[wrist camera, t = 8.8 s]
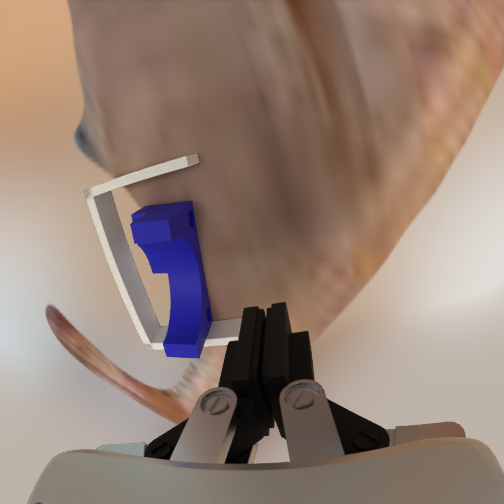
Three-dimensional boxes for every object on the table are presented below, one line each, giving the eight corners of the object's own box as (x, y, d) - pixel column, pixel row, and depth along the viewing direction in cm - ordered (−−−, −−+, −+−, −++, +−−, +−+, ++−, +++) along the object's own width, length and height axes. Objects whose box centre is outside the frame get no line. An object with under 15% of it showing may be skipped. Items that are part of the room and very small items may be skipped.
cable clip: (146, 205, 26) (113, 225, 20) (192, 200, 25) (168, 219, 20) (171, 318, 30) (151, 355, 25) (213, 319, 30) (199, 358, 24)
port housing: (101, 183, 25) (83, 190, 22) (196, 153, 23) (185, 156, 21) (156, 332, 31) (146, 349, 28) (243, 324, 29) (239, 343, 26)
